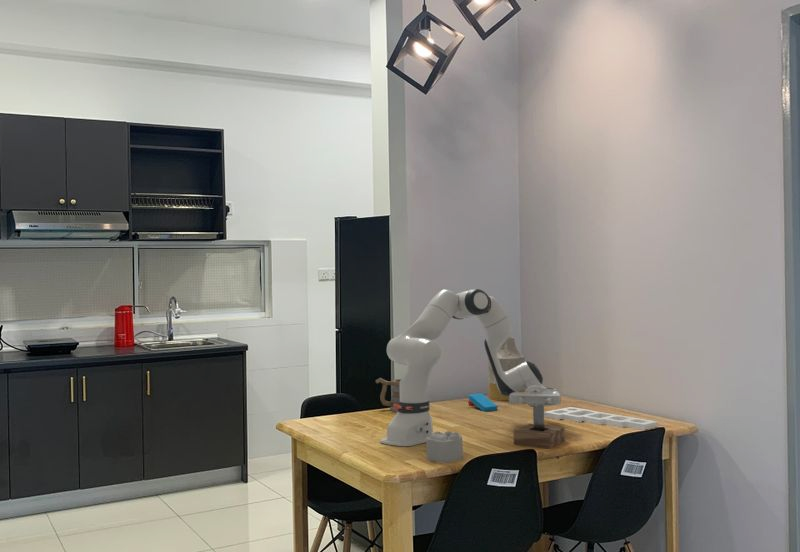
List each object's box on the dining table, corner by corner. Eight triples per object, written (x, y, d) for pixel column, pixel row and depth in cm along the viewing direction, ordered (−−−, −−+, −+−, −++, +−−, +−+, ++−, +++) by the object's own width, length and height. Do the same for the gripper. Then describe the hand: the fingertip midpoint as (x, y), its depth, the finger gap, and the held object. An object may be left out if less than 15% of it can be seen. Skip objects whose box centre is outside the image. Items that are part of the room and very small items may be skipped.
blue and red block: (495, 419, 345) (475, 403, 361) (497, 406, 344) (477, 390, 359) (482, 421, 342) (463, 405, 358) (484, 407, 341) (465, 391, 356)
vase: (505, 393, 390) (504, 335, 390) (532, 397, 376) (531, 336, 376) (481, 397, 378) (479, 337, 378) (508, 402, 364) (507, 339, 364)
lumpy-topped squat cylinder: (422, 459, 257) (422, 433, 257) (447, 452, 266) (447, 427, 266) (445, 464, 250) (444, 438, 250) (470, 456, 259) (469, 431, 259)
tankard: (420, 408, 353) (420, 376, 353) (414, 413, 341) (413, 380, 341) (380, 406, 359) (379, 375, 359) (372, 411, 347) (371, 379, 347)
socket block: (549, 448, 268) (549, 434, 268) (513, 444, 276) (513, 430, 276) (564, 440, 279) (564, 427, 279) (530, 436, 287) (529, 423, 287)
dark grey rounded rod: (542, 441, 275) (541, 405, 275) (532, 440, 277) (531, 405, 277) (546, 439, 278) (545, 404, 278) (536, 438, 281) (535, 403, 281)
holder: (658, 428, 300) (657, 421, 300) (630, 434, 290) (629, 427, 290) (571, 412, 337) (571, 406, 337) (543, 418, 326) (543, 411, 326)
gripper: (509, 387, 306) (507, 392, 292) (560, 388, 302) (561, 394, 289) (509, 403, 306) (507, 409, 292) (560, 404, 302) (561, 410, 288)
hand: (534, 401), depth 290 cm, fingers open, 8 cm apart
